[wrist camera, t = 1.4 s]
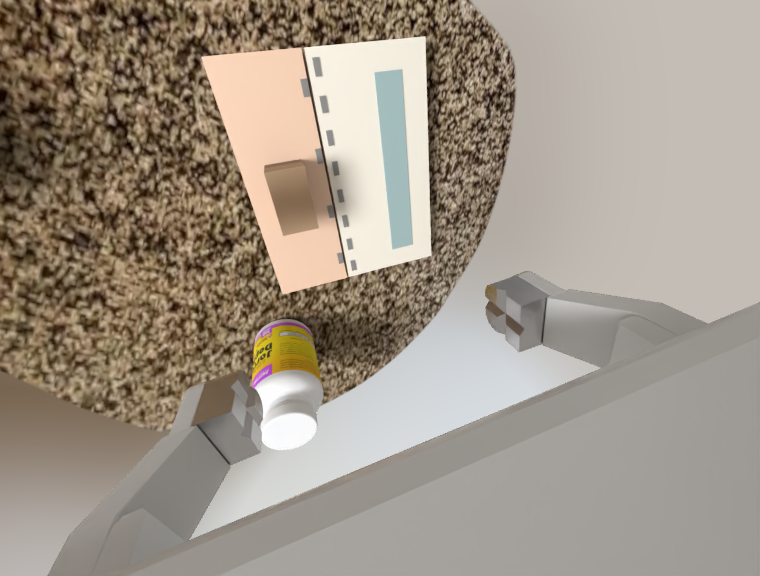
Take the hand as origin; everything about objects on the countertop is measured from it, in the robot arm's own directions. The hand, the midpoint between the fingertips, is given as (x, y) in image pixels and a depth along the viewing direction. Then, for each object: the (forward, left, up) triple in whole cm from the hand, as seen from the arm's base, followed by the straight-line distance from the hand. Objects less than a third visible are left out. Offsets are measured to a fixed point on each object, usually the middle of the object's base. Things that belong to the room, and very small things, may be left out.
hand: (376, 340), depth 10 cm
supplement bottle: (+16, -7, -23) cm, 29 cm away
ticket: (-1, +7, -23) cm, 24 cm away
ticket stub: (-1, -1, -23) cm, 23 cm away
